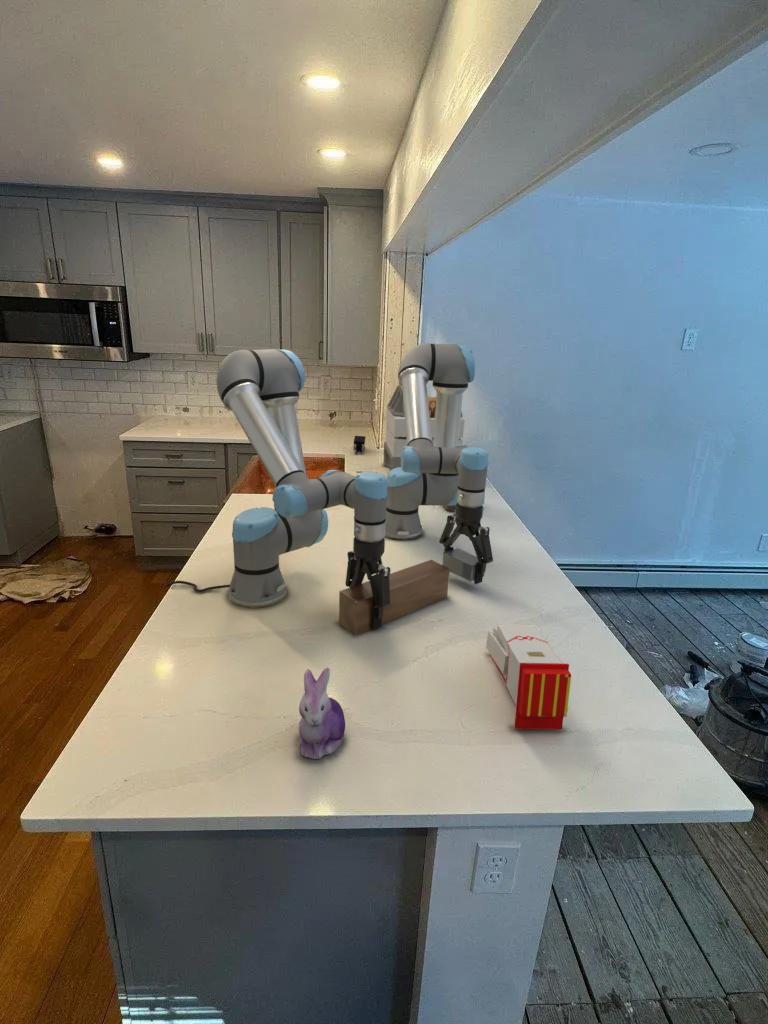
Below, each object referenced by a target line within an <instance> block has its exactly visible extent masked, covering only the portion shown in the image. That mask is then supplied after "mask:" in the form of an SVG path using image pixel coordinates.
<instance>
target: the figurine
mask: <svg viewBox="0 0 768 1024" xmlns="http://www.w3.org/2000/svg"><path fill="white" fill-rule="evenodd" d="M330 676H331V669H330V668H329V667H326V668H324V669H323V670H322V671H321V673H320V675H319V677H318V678H317V680H316V678H315V676H314V674H313V672H312V670H311V669H309V668H307V669H306V670H305V671H304V674H303V686H304V693H303V695H302V697H301V700H300V702H299V706H298V707H299V708H298V711H299V715H300V717H301V719H300V721H299V723H298V724H299V725H298V733H299V745H300V754H301V755H302V756H303V757H305V758H308V759H313V760H319V759H321V758H322V757H324V756H328V755H331V754H333V753H334V752H336V750H337V749H338V748H339V747H340V746H341V745H342V743H343V741H344V737H345V731H346V719H345V713H344V710H343V707H342V705H341V704H340V703H339V701H338V700H336V698H334V697H330V696H329V695H328V693H327V688H328V684H329V680H330Z"/></svg>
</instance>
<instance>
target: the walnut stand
mask: <svg viewBox="0 0 768 1024" xmlns="http://www.w3.org/2000/svg"><path fill="white" fill-rule="evenodd" d="M449 570H450V568H448V567H446V566H444V565H443V564H441V563H439V562H438V561H435V560H433V559H429V560H426V561H424V562H420V563H418V564H415V565H412V566H409V567H406V568H403V569H400V570H396V571H394V572H390V575H389V583H390V605H388V606H386V607H384V612H383V617H382V625H384V624H387V623H389V622H392V621H395V620H397V619H399V618H401V617H404V616H406V615H409V614H411V613H413V612H416V611H418V610H421V609H424V608H426V607H428V606H430V605H433V604H435V603H438V602H441V601H442V600H446V599H447V598H448V591H449V580H450V572H449ZM338 593H339V594H338V595H339V597H338V598H339V599H338V624H339V625H341V626H342V627H343V628H345V629H347V630H348V631H349V632H350V633H352V634H353V635H355V636H357V635H361V634H363V633H365V632H367V631H369V630H372V629H371V624H372V605H375V604H374V599H373V594H372V589H371V584H370V580H368V581H365V582H362V584H359V585H356V586H353V587H350V588H349V587H347V588H345V589H342V590H339V592H338Z"/></svg>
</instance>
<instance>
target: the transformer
mask: <svg viewBox="0 0 768 1024" xmlns="http://www.w3.org/2000/svg"><path fill="white" fill-rule="evenodd" d="M428 404H429V413H430V422H431V431H432V440H433V437H434V423H435V409H436V396H428ZM385 414H386V415H385V423H386V428H385V438H384V442H383V466H384V467H388V468H389V471H391V470H392V469H394V468H398V467H401V451H402V448H403V447H407V438H406V426H405V414H404V402H403V390H402V387H401V386H400V384H398V385H397V386H396V388H395V390H394V392H393V394H392V395H391V398H390V400H389V402H388V404H387V405H386V413H385ZM464 429H465V419H464V418H463V411H461V419H460V431H459V443H458V445H463V442H464V441H463V440H462V439H463V438H464V431H465V430H464Z"/></svg>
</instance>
